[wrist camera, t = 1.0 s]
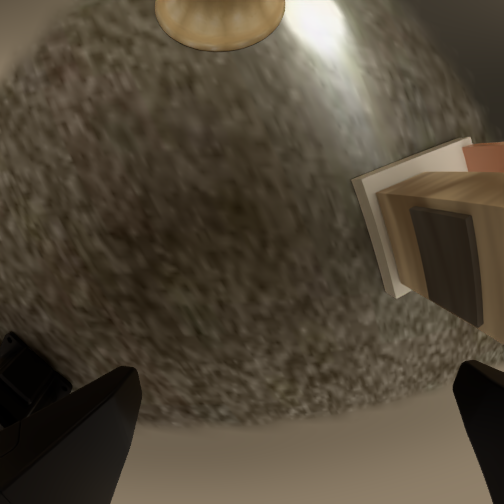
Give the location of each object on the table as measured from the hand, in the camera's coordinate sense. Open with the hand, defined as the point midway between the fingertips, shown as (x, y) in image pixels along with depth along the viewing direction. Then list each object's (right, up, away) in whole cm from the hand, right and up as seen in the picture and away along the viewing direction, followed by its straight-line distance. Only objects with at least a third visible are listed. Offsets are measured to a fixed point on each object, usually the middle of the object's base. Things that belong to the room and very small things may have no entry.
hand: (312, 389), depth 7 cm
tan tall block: (+8, +5, +10) cm, 14 cm away
